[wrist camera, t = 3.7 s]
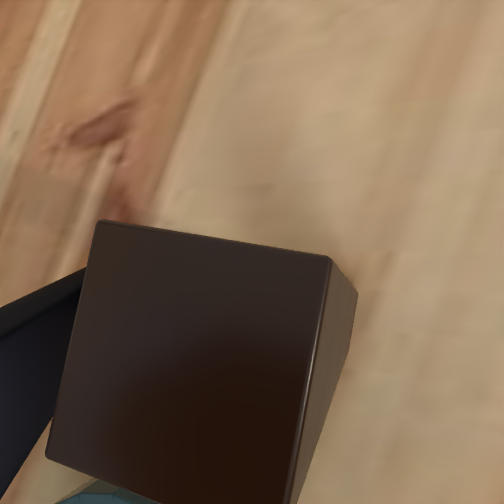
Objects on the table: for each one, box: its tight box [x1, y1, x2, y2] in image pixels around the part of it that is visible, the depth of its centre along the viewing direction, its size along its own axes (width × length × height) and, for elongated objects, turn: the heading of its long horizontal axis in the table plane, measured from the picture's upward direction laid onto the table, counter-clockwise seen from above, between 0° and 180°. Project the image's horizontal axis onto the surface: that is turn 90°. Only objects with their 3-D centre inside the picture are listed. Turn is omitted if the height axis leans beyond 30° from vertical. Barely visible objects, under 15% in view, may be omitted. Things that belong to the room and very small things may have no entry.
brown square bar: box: [45, 219, 358, 504], centre depth 10 cm, size 2×2×13 cm
